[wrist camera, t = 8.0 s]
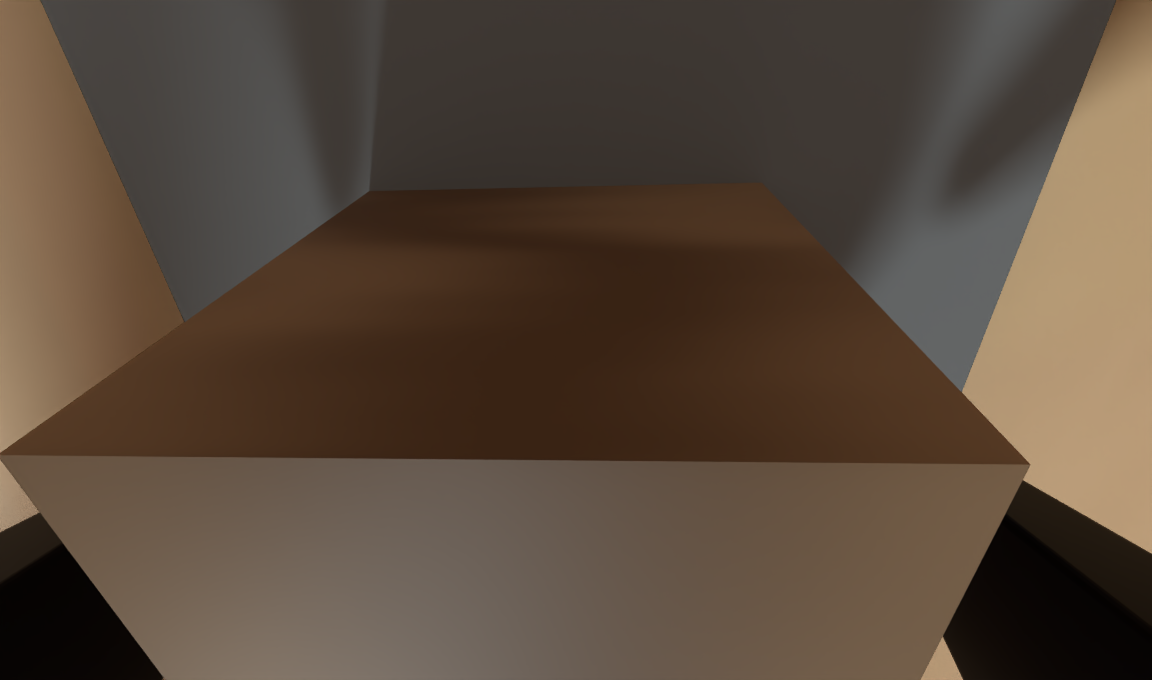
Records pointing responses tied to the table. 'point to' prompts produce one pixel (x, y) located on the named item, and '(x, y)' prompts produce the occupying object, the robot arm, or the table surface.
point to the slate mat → (596, 121)
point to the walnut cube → (532, 454)
